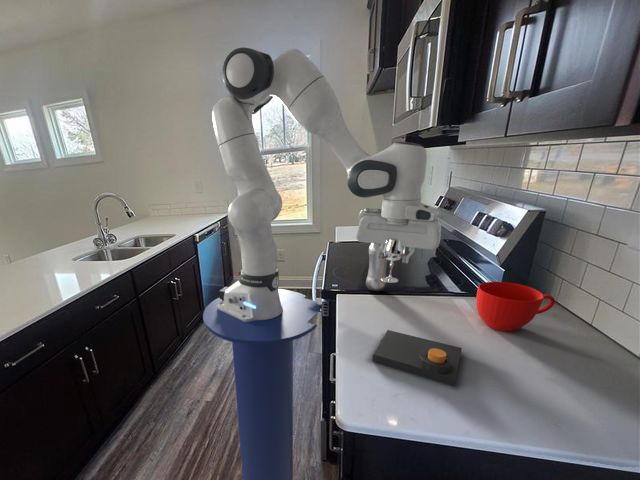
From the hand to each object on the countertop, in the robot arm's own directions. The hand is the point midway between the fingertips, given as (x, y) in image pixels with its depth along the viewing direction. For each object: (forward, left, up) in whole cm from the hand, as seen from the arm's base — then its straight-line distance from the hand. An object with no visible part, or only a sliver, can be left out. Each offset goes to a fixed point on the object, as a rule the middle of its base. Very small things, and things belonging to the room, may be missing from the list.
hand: (392, 260), depth 87 cm
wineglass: (0, 0, -6) cm, 6 cm away
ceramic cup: (+28, +9, -17) cm, 34 cm away
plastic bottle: (-8, +17, -17) cm, 25 cm away
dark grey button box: (+11, -19, -17) cm, 27 cm away
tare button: (+15, -22, -13) cm, 30 cm away
